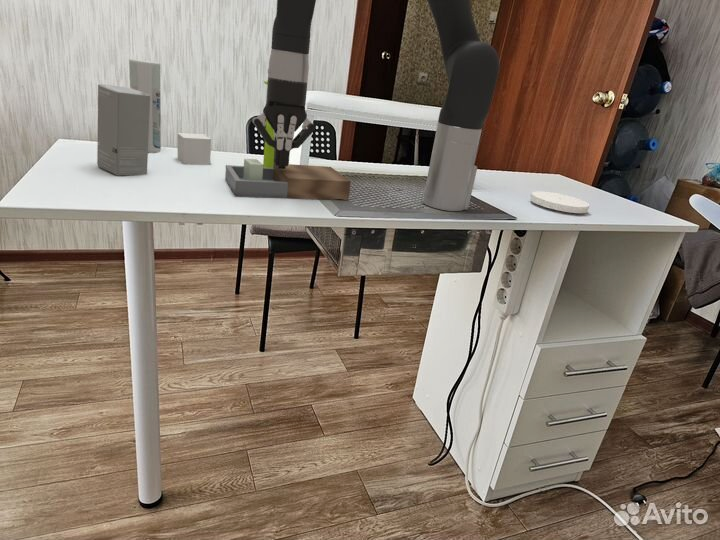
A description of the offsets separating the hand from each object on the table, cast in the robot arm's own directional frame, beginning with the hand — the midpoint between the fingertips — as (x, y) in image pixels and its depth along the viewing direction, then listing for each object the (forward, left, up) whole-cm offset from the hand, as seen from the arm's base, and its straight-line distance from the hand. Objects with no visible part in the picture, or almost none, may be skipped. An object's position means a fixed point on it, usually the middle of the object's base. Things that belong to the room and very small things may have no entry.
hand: (280, 167), depth 102 cm
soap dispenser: (-3, -19, -5) cm, 20 cm away
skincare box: (+29, -10, -5) cm, 31 cm away
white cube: (+15, -22, -5) cm, 27 cm away
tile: (+4, +1, -1) cm, 5 cm away
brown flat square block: (-6, 0, -4) cm, 8 cm away
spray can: (+25, -32, -5) cm, 41 cm away
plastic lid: (-70, +6, -5) cm, 70 cm away
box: (+5, 0, -4) cm, 7 cm away
